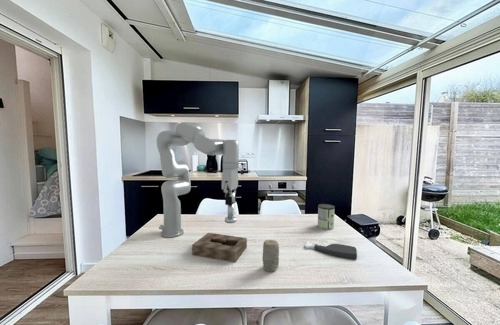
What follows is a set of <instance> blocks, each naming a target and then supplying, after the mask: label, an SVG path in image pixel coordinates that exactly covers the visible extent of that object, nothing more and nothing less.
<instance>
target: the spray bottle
mask: <svg viewBox="0 0 500 325" xmlns="http://www.w3.org/2000/svg"><path fill="white" fill-rule="evenodd" d="M304 244H305V245H304V248H305V249H306V250H307V249H309V250H310V249H311V250H315V251H318V252H320V253H324V254H325V255H329V256H334V257H337V258H342V259H348V260H357V259H358V254H357V253H358V251H357V250H358V249H357V248H356V246H354V245H353V246H352V245H348V244H347V245H346V244H341V243H331V244H328V245H327V246H326V245H319V244H317V243H312V242H310V241H309V240H308V241H307V240H306V242H305V243H304Z"/></svg>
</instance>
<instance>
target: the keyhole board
mask: <svg viewBox="0 0 500 325" xmlns="http://www.w3.org/2000/svg"><path fill="white" fill-rule="evenodd" d="M247 244H248V238H247V237H242V236H234V235H228V234H220V233H214V232H207V233H205V235H203V236H202V237H200V238H199V239H198V240H197V241H195V242H194V243H193V244H192V247H191V249H192V250H191V254H192V256H196V257H203V258H208V259H213V260H219V261H225V262H231V263H237V261H238V260H239V259H240V258H241V256H242V255H243V253H244V252H245V251H246V249H247V248H248V245H247Z"/></svg>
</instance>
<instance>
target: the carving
mask: <svg viewBox="0 0 500 325" xmlns="http://www.w3.org/2000/svg"><path fill="white" fill-rule="evenodd" d="M262 244H263V245H262V246H263V247H262V266H263V267H262V268H263V270H265V271H266V272H274V271H276V270H277V269H278V268H279V265H280V264H279V263H280V246H279V242H278V241H277V240H274V239H265V240H264V241H263V243H262Z"/></svg>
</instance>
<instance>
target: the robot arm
mask: <svg viewBox="0 0 500 325" xmlns="http://www.w3.org/2000/svg"><path fill="white" fill-rule="evenodd" d="M155 141H156V148H157V149H158V153H159V158H160V159H159V160H160V167H161V173H162V176H163V177H164V178H165V179H169V180H166V181H165V182H163V183H162V185H161V187H160V188H161V191H160V192H161V195H162V201H163V202H162V205H163V224H159V226H158V230H162V231H161V232H160V235H161V237H163V238H167V239H168V238H176V237H179V236H182V235H184V229H183V228H182V220H181V219H182V208H181V207H182V206H181V200H180V199H179V198H178V197H179V196H182V195H186V194H189V193H190V192H191V189H192V186H191V183H192V182H191V177H190V176H191V175H190V169H189V165H188V164H187V163H186V161H183V160H177V158H176V152H175V151H174V149H173V147H171V146H175V147H176V146H178V147H181V146H182V147H183V146H187V145H188V144H190V143H191V144H193V147H194V148H195V149H196V150H197V151H199V152H201V153H203V154H205V155H207V156H216V155H217V156H221V155H222V173H221V190H222V191H223V193H224V197H225V199H224V201H225V202H224V203H225V205H226V206H228V205H232V197H231V193H232V192H235V203H236V200H237V196H236V195H237V188H238V187H239V174H238V171H239V169H240V168H239V167H240V166H239V163H240V162H239V161H240V159H239V158H240V155H239V153H240V152H239V150H240V147H239V145H240V144H239V141H238V140H237V139H217V138H208V137H206V134H205V131H204V130H203V129H202V128H201V126H200V125H199V124H197V123H195V122H186V121H181V122H179V123H177V124H176V126H175V130H162V131H160V132H159V133H158V135H157V137H156V140H155ZM172 178H177V179H172ZM229 192H230V194H229ZM235 203H234V204H235Z"/></svg>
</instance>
